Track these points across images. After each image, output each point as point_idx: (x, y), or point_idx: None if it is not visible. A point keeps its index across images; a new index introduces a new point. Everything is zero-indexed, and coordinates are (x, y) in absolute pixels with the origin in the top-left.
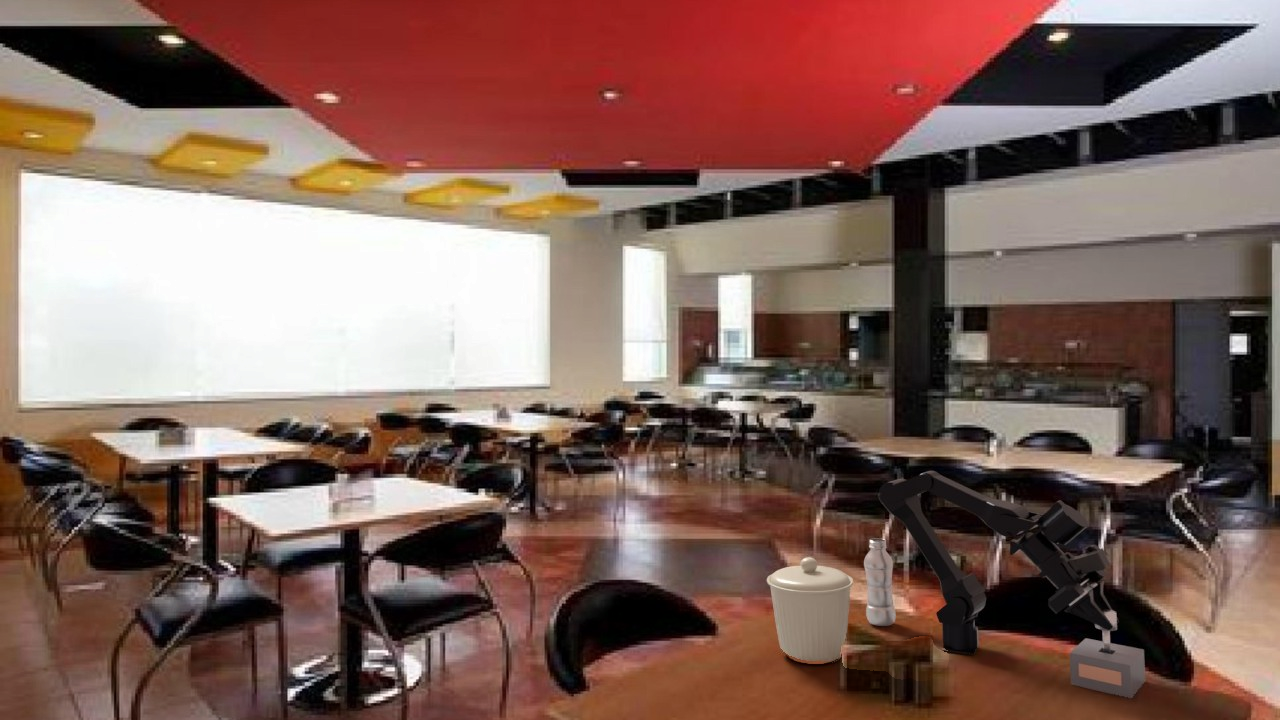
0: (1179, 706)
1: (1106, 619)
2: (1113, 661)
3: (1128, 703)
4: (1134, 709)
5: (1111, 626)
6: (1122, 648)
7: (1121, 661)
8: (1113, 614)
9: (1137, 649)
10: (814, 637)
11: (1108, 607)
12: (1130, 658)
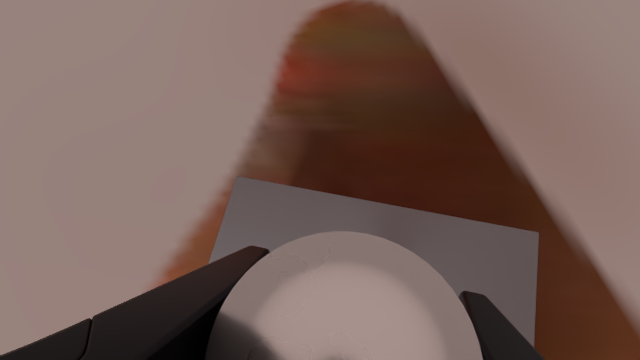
0: (463, 127)
1: (533, 348)
2: (526, 320)
3: (543, 280)
4: (592, 258)
5: (491, 303)
6: None
7: (496, 277)
8: (422, 260)
9: (248, 203)
10: None
11: (188, 324)
12: (416, 233)
